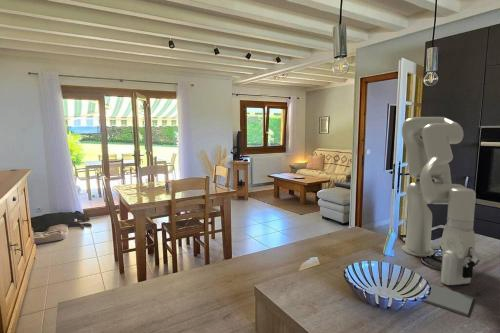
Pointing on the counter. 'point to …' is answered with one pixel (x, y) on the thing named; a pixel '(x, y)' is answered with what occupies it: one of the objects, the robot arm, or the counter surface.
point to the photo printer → (452, 270)
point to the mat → (450, 300)
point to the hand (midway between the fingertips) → (456, 271)
